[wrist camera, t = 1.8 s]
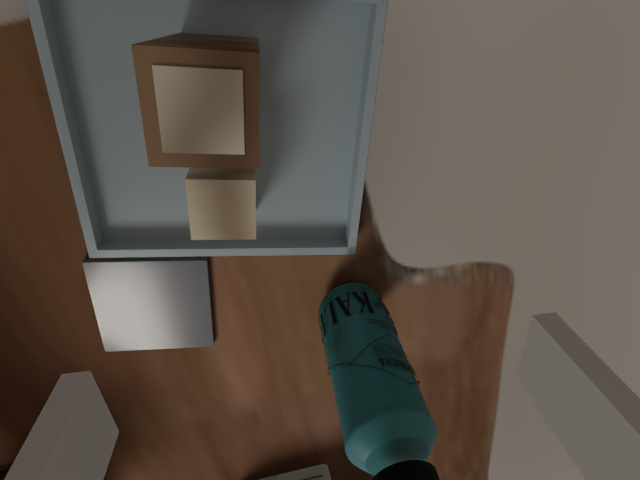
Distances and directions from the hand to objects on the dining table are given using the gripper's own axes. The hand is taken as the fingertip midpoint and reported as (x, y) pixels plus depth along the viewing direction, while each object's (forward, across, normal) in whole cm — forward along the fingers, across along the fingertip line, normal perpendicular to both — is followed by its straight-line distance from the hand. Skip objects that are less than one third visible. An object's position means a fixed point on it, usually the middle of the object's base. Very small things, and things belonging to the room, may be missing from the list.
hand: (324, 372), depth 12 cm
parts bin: (+22, -4, +2) cm, 23 cm away
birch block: (+22, -5, -2) cm, 22 cm away
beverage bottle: (+22, +5, -15) cm, 27 cm away
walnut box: (+22, -4, +6) cm, 23 cm away
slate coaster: (+22, -13, -13) cm, 29 cm away
